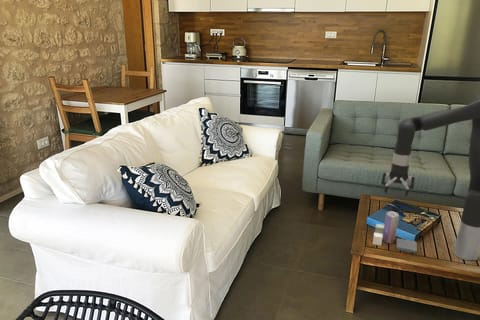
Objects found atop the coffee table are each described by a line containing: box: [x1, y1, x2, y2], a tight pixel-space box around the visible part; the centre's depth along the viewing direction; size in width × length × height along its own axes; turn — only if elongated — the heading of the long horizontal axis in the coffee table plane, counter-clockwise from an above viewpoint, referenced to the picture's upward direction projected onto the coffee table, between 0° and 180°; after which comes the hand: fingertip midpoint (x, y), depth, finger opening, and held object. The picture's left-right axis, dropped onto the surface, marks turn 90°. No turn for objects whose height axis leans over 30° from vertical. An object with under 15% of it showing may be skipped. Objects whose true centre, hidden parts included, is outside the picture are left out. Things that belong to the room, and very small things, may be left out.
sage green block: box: [374, 223, 385, 234], centre depth 200 cm, size 4×4×4 cm
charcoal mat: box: [396, 237, 418, 254], centre depth 189 cm, size 9×9×1 cm
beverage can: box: [382, 210, 400, 244], centre depth 192 cm, size 6×6×15 cm
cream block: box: [372, 231, 383, 246], centre depth 191 cm, size 4×4×4 cm
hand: (395, 194), depth 186 cm, fingers open, 8 cm apart
